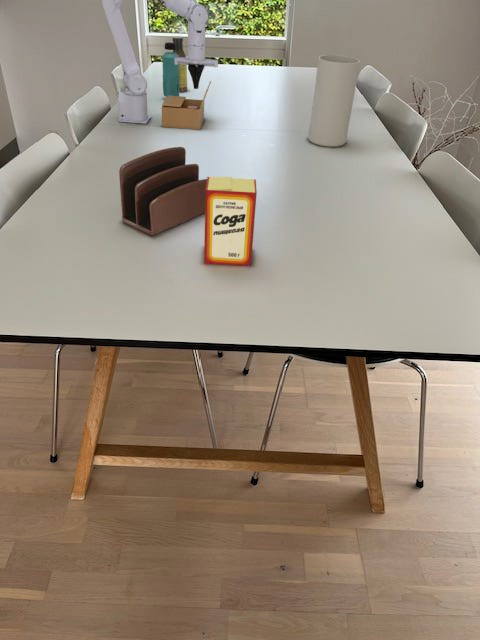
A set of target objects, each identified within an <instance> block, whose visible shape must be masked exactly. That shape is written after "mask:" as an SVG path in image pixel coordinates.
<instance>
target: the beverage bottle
mask: <svg viewBox="0 0 480 640" xmlns="http://www.w3.org/2000/svg"><path fill="white" fill-rule="evenodd" d="M164 50H166V51H165V52H164V53H162V55H161V58H162V60H161V61H162V62H161V63H162V94H163V96H164V97H165V98H167V96H180V93H181V92H180V87H179V85H180V84H179V82H180V80H179V78H180V77H179V64H178V65H175V57H179V56H178V55H177V54H176V53H174V52H173V50H176V46H175V43H173V42H172V41H171V42H169V41H168V42H164Z"/></svg>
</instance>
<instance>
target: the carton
mask: <svg viewBox="0 0 480 640" xmlns="http://www.w3.org/2000/svg"><path fill="white" fill-rule="evenodd" d="M202 101H203V99H194V98H193V99H191V98H187V96H182V95H181V96H180V95H179V96H167V97H165V99H164V101H163V102H162V103H161V127H162V128H174V129H184V130H185V129H188V130H201V129H202V128H201V127H202V126H203V123H204V120H205V101H204V102H203V104H202V106H201V103H202ZM188 106H196V107H198V109H187V107H188ZM200 106H201V108H200Z"/></svg>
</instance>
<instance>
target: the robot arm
mask: <svg viewBox="0 0 480 640" xmlns="http://www.w3.org/2000/svg"><path fill="white" fill-rule="evenodd" d="M123 1H124V0H101V5H102V8H103V11H104V14H105V15H104V16H105V18H106V21H107V24H108V26H109V29H110V33H111V35H112V39H113V42H114V45H115V47H116V51H117V54H118V57H119V60H120V62H121V68H122V72H123V76H122V81H123V83H124V85H125V86H126V87H125V89H124V91H119V93H118V95H117V107H118V122H119V123H131V124H132V123H133V124H145V125H146V124H147V123H149V120H150V119H151V115H148V95H147V89H148V81H147V79H146V77H145V76H144V75H143V73H142V71H141V68H140V66H139V64H138V62H137V58H136V56H135V52H134V49H133V47H132V43H131V39H130V37H129V34H128V31H127V27H126V24H125V22H124V18H123V14H122V12H121V8H120V7H121V5H122V4H123ZM161 1H163V2H164V4H165V7H166V8H167V9H168V10H169V11H171V12H173V13H174V14H177V15H179V16H180V17H182V18H184V19H187V57H186V58H181V57H175V65H178V64H181V65H187V71H188V72H189V75H190V77H191V81H192V86H193V89H194V90H199V87H200V81H201V77H202V74H203V72H204V69H205V67H210V68H211V67H212V68H218V67H219V60H217V59H211V58H206V23H207V22H208V19H209V14H208V10H207V8H206V7H205V5H203V4H201V3H198V1H196V0H161Z"/></svg>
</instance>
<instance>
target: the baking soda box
mask: <svg viewBox="0 0 480 640" xmlns="http://www.w3.org/2000/svg"><path fill="white" fill-rule="evenodd" d="M206 179H207V183H206V192H205V213H204V242H203V243H204V251H203V252H204V253H203V259H204V260H203V264H204V265H205V264H206V265H225V266H227V265H229V266H246V267H247V266H248V267H249V266H250V267H251V266H252V257H253V244H254V232H255V221H256V220H255V219H256V208H257V207H256V206H257V205H256V204H257V196H258V195H257V194H258V193H257V192H258V190H257V180H256V179H255V178H252V179H251V178H237V177H236V178H235V177H232V176H207V177H206Z"/></svg>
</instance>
